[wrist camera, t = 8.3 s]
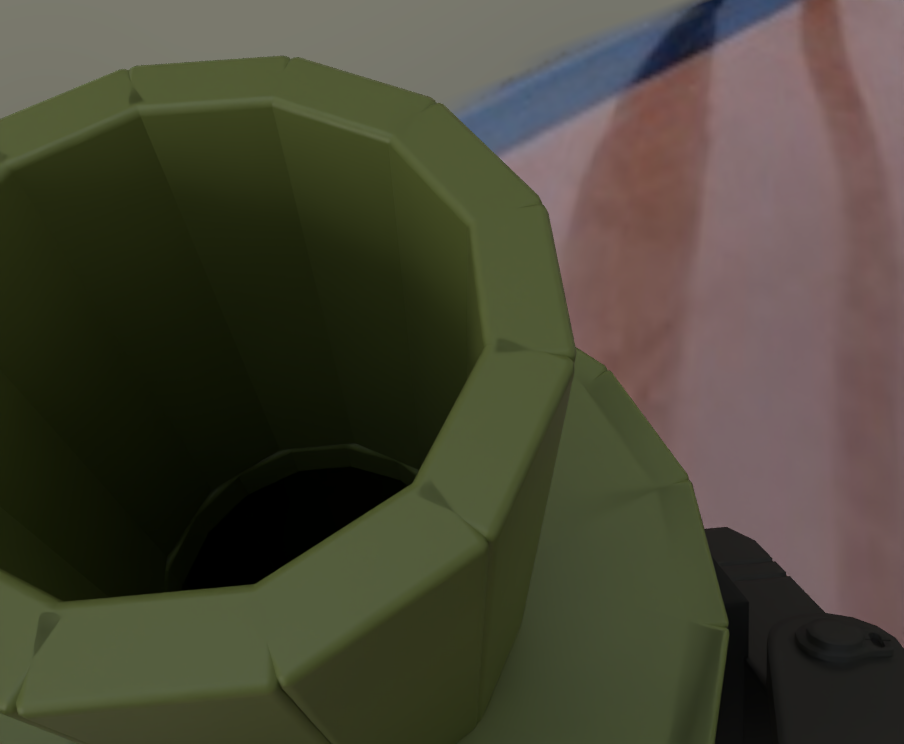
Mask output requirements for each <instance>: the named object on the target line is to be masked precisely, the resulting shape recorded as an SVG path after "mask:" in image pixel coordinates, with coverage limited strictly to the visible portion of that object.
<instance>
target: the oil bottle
mask: <svg viewBox="0 0 904 744" xmlns="http://www.w3.org/2000/svg"><path fill="white" fill-rule="evenodd" d="M728 624H729V621H728V618H727V614H726V610H725V606H724V602H723V599H722V595H721V591H720V587H719V584H718V580H717V576H716V572H715V568H714V565H713V561H712V557H711V553H710V550H709V546H708V542H707V538H706V534H705V531H704V527H703V523H702V519H701V515H700V512H699V508H698V504H697V500H696V497H695V493H694V489H693V485H692V483H691V481H689V478H688V475H687V473H686V472H685V471H684V469H683V468H682V466H681V465H680V464H679V462H678V461H677V460H676V458H675V457H674V456H673V454H672V453H671V452H670V450H669V449H668V448H667V446H666V445H665V444H664V442H663V441H662V440H661V438H660V437H659V435H658V434H657V433H656V431H655V430H654V429H653V427H652V426H651V425H650V423H649V422H648V421H647V419H646V418H645V417H644V415H643V414H642V413H641V411H640V410H639V408H638V407H637V406H636V404H635V403H634V402H633V400H632V399H631V398H630V396H629V395H628V394H627V392H626V391H625V390H624V388H623V387H622V386H621V384H620V383H619V382H618V380H617V379H616V377H615V376H614V375H613V373H612V372H611V371H609V370H607V368H606V367H605V366H604V365H603V364H601V363H600V362H598V361H597V360H595V359H594V358H592V357H590V356H589V355H587V354H586V353H584V352H583V351H581V350H580V349H578V348H576V347H575V343H574V338H573V333H572V328H571V323H570V318H569V313H568V308H567V303H566V298H565V293H564V288H563V283H562V278H561V273H560V268H559V264H558V259H557V254H556V249H555V244H554V239H553V234H552V229H551V224H550V219H549V214H548V212H547V210H546V208H545V206H544V205H542V202H541V200H540V198H539V196H538V195H537V194H536V193H535V192H534V191H533V190H532V189H531V188H530V187H529V186H528V185H527V184H526V183H525V182H524V181H523V180H522V179H520V178H519V177H518V176H517V175H516V174H515V173H514V172H513V171H512V170H511V169H510V168H509V167H508V166H507V165H506V164H505V163H504V162H503V161H502V160H501V159H500V158H499V157H498V156H497V155H495V154H494V153H493V152H492V151H491V150H490V149H489V148H488V147H487V146H486V145H485V144H484V143H483V142H482V141H481V140H480V139H479V138H478V137H477V136H476V135H475V134H474V133H473V132H472V131H470V130H469V129H468V128H467V127H466V126H465V125H464V124H463V123H462V122H461V121H460V120H459V119H458V118H457V117H456V116H455V115H454V114H453V113H452V112H451V111H450V110H449V109H448V108H447V107H445V106H444V105H443V104H441V103H436V102H435V100H433V99H432V98H431V97H428V96H425V95H421V94H418V93H415V92H411V91H408V90H405V89H402V88H398V87H395V86H391V85H388V84H385V83H382V82H379V81H375V80H372V79H369V78H365V77H362V76H359V75H355V74H352V73H349V72H346V71H342V70H339V69H336V68H332V67H329V66H326V65H322V64H319V63H316V62H312V61H309V60H306V59H303V58H299V57H296V58H292V59H290V58H289V57H287V56H273V57H257V58H243V59H230V60H229V59H228V60H215V61H199V62H184V63H170V64H155V65H141V66H135V67H132V68H130V70H129V71H128V70H126V69H121V70H118V71H115V72H113V73H110V74H108V75H106V76H103V77H101V78H99V79H96V80H94V81H91V82H89V83H86V84H84V85H82V86H79V87H76V88H74V89H72V90H69V91H67V92H65V93H62V94H60V95H57V96H55V97H52V98H50V99H47V100H45V101H43V102H40V103H38V104H35V105H33V106H30V107H28V108H26V109H23V110H21V111H18V112H16V113H13V114H11V115H9V116H6V117H4V118H1V119H0V744H715V738H716V731H717V723H718V716H719V709H720V701H721V694H722V686H723V679H724V672H725V664H726V657H727V649H728V642H729V635H730V634H729V630H728V629H727V627H728Z"/></svg>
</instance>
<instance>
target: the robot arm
mask: <svg viewBox="0 0 904 744" xmlns="http://www.w3.org/2000/svg"><path fill="white" fill-rule="evenodd" d="M704 531H705V534H706V538H707V542H708V546H709V550H710V553H711V557H712V561H713V565H714V568H715V572H716V576H717V580H718V584H719V587H720V591H721V595H722V599H723V602H724V606H725V610H726V614H727V618H728V621H729V624H728V627H727V629H728V630H729V634H730V635H729V642H728V649H727V657H726V664H725V672H724V679H723V686H722V694H721V701H720V709H719V716H718V723H717V731H716V738H715V744H904V648H903V647H902V646H901V644H900V643H899V642H898V641H897V639H896V638H895V637H893V636H892V635H890V634H888V633H887V632H885V631H884V630H882V629H881V628H879V627H877V626H875V625H872V624H870V623H867V622H864V621H861V620H858V619H855V618H853V617H847V616H841V615H835V614H829V613H825V612H824V611H823V610H822V609H821V608H820V607H819V606H818V605H817V604H816V603H815V602H814V601H813V600H812V599H811V598H810V597H809V596H808V595H807V594H806V593H805V592H804V590H803V589H802V588H801V587H800V586H799V585H798V584H797V583H796V582H795V581H794V580H793V579H792V578H791V577H790V576H786V572H785V571H784V570H783V569H782V568H781V567H780V566H779V565H778V564H777V563H776V562H773V561H772V558H771V557H770V556H769V554H768V553H767V552H766V551H765V550H764V549H763V548H762V547H761V546H760V545H759V544H758V543H757V542H756V541H755V540H753V539H751V538H748V537H746V536H744V535H742V534H740V533H738V532H736V531H734V530H732V529H730V528H728V527H721V528H710V529H704Z"/></svg>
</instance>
